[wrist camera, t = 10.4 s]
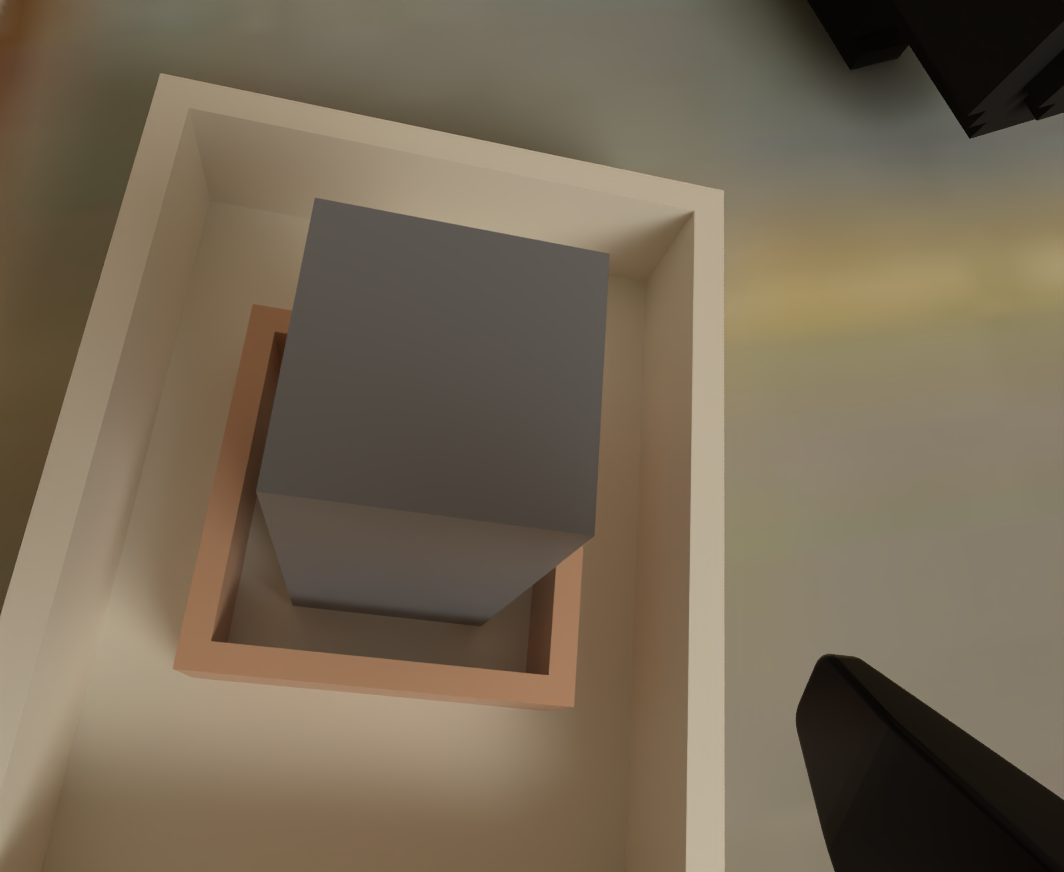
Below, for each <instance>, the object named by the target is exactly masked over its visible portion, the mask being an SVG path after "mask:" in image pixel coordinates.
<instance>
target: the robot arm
mask: <svg viewBox="0 0 1064 872" xmlns="http://www.w3.org/2000/svg"><path fill="white" fill-rule="evenodd" d="M796 728H797V733H798V737H799V741H800V745H801V749H802V753H803V757H804V761H805V765H806V768H807V772H808V776H809V780H810V784H811V788H812V792H813V796H814V800H815V804H816V808H817V812H818V816H819V820H820V824H821V828H822V832H823V835H824V839H825V842H826V846H827V849H828V853H829V856H830V859H831V862H832V865H833V868H834V871H835V872H1064V800H1063V799H1062V798H1060V797H1059V796H1057V795H1056V794H1054V793H1053V792H1052V791H1050V790H1049V789H1047V788H1046V787H1044V786H1043V785H1041V784H1040V783H1039V782H1037V781H1036V780H1034V779H1033V778H1031V777H1030V776H1028V775H1027V774H1026V773H1024V772H1023V771H1021V770H1020V769H1018V768H1017V767H1016V766H1014V765H1013V764H1011V763H1010V762H1008V761H1007V760H1005V759H1004V758H1003V757H1001V756H1000V755H998V754H997V753H995V752H994V751H992V750H991V749H990V748H988V747H987V746H985V745H984V744H982V743H981V742H979V741H978V740H977V739H975V738H974V737H972V736H971V735H969V734H968V733H967V732H965V731H964V730H962V729H961V728H959V727H958V726H956V725H955V724H954V723H952V722H951V721H949V720H948V719H946V718H945V717H943V716H942V715H941V714H939V713H938V712H936V711H935V710H933V709H932V708H931V707H929V706H928V705H926V704H925V703H923V702H922V701H920V700H919V699H918V698H916V697H915V696H913V695H912V694H910V693H909V692H907V691H906V690H905V689H903V688H902V687H900V686H899V685H897V684H896V683H894V682H893V681H892V680H890V679H889V678H887V677H886V676H884V675H883V674H882V673H880V672H879V671H877V670H876V669H874V668H873V667H871V666H870V665H869V664H867V663H866V662H864V661H863V660H861V659H859V658H857V657H853V656H844V655H835V654H826V655H823V656H822V657H820V658H819V660H818V661H817V663H816V665H815V667H814V669H813V671H812V674H811V676H810V679H809V681H808V683H807V686H806V688H805V690H804V693H803V695H802V697H801V700H800V702H799V705H798V708H797V712H796Z"/></svg>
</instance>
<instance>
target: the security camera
mask: <svg viewBox="0 0 1064 872" xmlns="http://www.w3.org/2000/svg"><path fill="white" fill-rule="evenodd" d="M807 1H808V2H809V4H810V6H811V7H812V9H813V10H814V12H815V14H816V15H817V17H818V18H819V20H820V22H821V23H822V25H823V26H824V28H825V30H826V31H827V33H828V35H829V36H830V38H831V39H832V41H833V43H834V44H835V46H836V47H837V49H838V51H839V52H840V54H841V55H842V57H843V59H844V60H845V62H846V63H847V65H848V67H849V68H850V70H852V69H856V68H860V67H864V66H868V65H872V64H876V63H880V62H884V61H888V60H892V59H896V58H898V57H899V56H900V55H901V54H902V52H903V51H904V50H905V49H906V48H907V46H908V45H909V46H910V47H911V49H912V50H913V52H914V53H915V55H916V57H917V58H918V60H919V61H920V63H921V64H922V66H923V67H924V69H925V70H926V72H927V74H928V75H929V77H930V78H931V80H932V81H933V83H934V84H935V86H936V87H937V89H938V91H939V92H940V94H941V95H942V97H943V98H944V100H945V101H946V103H947V105H948V106H949V108H950V109H951V111H952V112H953V114H954V115H955V117H956V118H957V120H958V122H959V123H960V125H961V126H962V128H963V129H964V131H965V132H966V134H967V135H968V137H969V139H970V138H974V137H977V136H980V135H984V134H987V133H990V132H994V131H997V130H1001V129H1004V128H1007V127H1011V126H1014V125H1017V124H1021V123H1024V122H1027V121H1031V120H1034V119H1036V120H1040V119H1044V118H1047V117H1050V116H1054V115H1057V114H1060V113H1064V0H807Z"/></svg>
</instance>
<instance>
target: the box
mask: <svg viewBox="0 0 1064 872" xmlns="http://www.w3.org/2000/svg"><path fill="white" fill-rule="evenodd" d="M315 198H320V199H325V200H330V201H336V202H341V203H346V204H351V205H357V206H362V207H367V208H372V209H378V210H383V211H388V212H393V213H399V214H404V215H409V216H414V217H420V218H425V219H430V220H435V221H441V222H446V223H451V224H456V225H462V226H467V227H472V228H477V229H483V230H488V231H493V232H498V233H504V234H509V235H514V236H519V237H525V238H530V239H535V240H540V241H546V242H551V243H556V244H561V245H567V246H572V247H577V248H582V249H588V250H593V251H598V252H603V253H609V254H610V257H609V276H608V295H607V313H606V332H605V351H604V369H603V388H602V407H601V426H600V444H599V463H598V482H597V500H596V519H595V536H594V537H592V538H591V539H590V540H589V541H587V542H586V543H585V544H584V545H582V546H581V547H580V548H579V549H577V550H576V551H575V552H574V553H572V554H571V555H570V556H569V557H567V558H566V559H565V560H564V561H562V562H561V563H560V564H559V565H557V566H556V567H555V568H553V569H552V570H551V571H550V572H548V573H547V574H546V575H545V576H543V577H542V578H541V579H540V580H538V581H537V582H536V583H535V584H533V585H532V586H531V587H530V588H528V589H527V590H526V591H525V592H523V593H522V594H521V595H520V596H518V597H517V598H516V599H514V600H513V601H512V602H511V603H509V604H508V605H507V606H506V607H504V608H503V609H502V610H501V611H499V612H498V613H497V614H496V615H494V616H493V617H492V618H491V619H489V620H488V621H487V622H486V623H484V624H483V625H482V626H472V625H463V624H454V623H445V622H436V621H427V620H417V619H408V618H399V617H390V616H381V615H372V614H363V613H354V612H344V611H335V610H326V609H317V608H308V607H299V606H292V603H291V599H290V596H289V593H288V590H287V587H286V584H285V581H284V578H283V574H282V571H281V568H280V565H279V562H278V559H277V556H276V553H275V549H274V546H273V543H272V540H271V537H270V534H269V531H268V528H267V524H266V521H265V518H264V515H263V512H262V509H261V506H260V503H259V499H258V496H257V493H256V489H257V484H258V479H259V474H260V469H261V464H262V459H263V454H264V449H265V444H266V439H267V434H268V429H269V424H270V419H271V414H272V409H273V404H274V399H275V394H276V389H277V384H278V379H279V374H280V369H281V364H282V359H283V354H284V349H285V344H286V339H287V334H288V329H289V324H290V319H291V314H292V309H293V304H294V299H295V294H296V289H297V284H298V279H299V274H300V269H301V264H302V259H303V254H304V249H305V244H306V239H307V234H308V229H309V224H310V219H311V214H312V209H313V204H314V199H315ZM0 872H725V857H724V191H723V190H718V189H714V188H709V187H704V186H699V185H694V184H690V183H685V182H680V181H675V180H671V179H666V178H661V177H656V176H651V175H647V174H642V173H637V172H632V171H627V170H623V169H618V168H613V167H608V166H604V165H599V164H594V163H589V162H584V161H580V160H575V159H570V158H565V157H560V156H556V155H551V154H546V153H541V152H536V151H532V150H527V149H522V148H517V147H513V146H508V145H503V144H498V143H493V142H489V141H484V140H479V139H474V138H469V137H465V136H460V135H455V134H450V133H446V132H441V131H436V130H431V129H426V128H422V127H417V126H412V125H407V124H402V123H398V122H393V121H388V120H383V119H378V118H374V117H369V116H364V115H359V114H355V113H350V112H345V111H340V110H335V109H331V108H326V107H321V106H316V105H311V104H307V103H302V102H297V101H292V100H288V99H283V98H278V97H273V96H268V95H264V94H259V93H254V92H249V91H244V90H240V89H235V88H230V87H225V86H220V85H216V84H211V83H206V82H201V81H197V80H192V79H187V78H182V77H177V76H173V75H168V74H163V73H160V76H159V79H158V83H157V86H156V90H155V93H154V96H153V100H152V103H151V107H150V110H149V113H148V117H147V120H146V124H145V127H144V130H143V134H142V137H141V141H140V144H139V147H138V151H137V154H136V157H135V161H134V164H133V168H132V171H131V174H130V178H129V181H128V185H127V188H126V191H125V195H124V198H123V202H122V205H121V208H120V212H119V215H118V218H117V222H116V225H115V229H114V232H113V235H112V239H111V242H110V246H109V249H108V252H107V256H106V259H105V263H104V266H103V269H102V273H101V276H100V279H99V283H98V286H97V290H96V293H95V296H94V300H93V303H92V307H91V310H90V313H89V317H88V320H87V324H86V327H85V330H84V334H83V337H82V341H81V344H80V347H79V351H78V354H77V357H76V361H75V364H74V368H73V371H72V374H71V378H70V381H69V385H68V388H67V391H66V395H65V398H64V402H63V405H62V408H61V412H60V415H59V418H58V422H57V425H56V429H55V432H54V435H53V439H52V442H51V446H50V449H49V452H48V456H47V459H46V463H45V466H44V469H43V473H42V476H41V479H40V483H39V486H38V490H37V493H36V496H35V500H34V503H33V507H32V510H31V513H30V517H29V520H28V524H27V527H26V530H25V534H24V537H23V541H22V544H21V547H20V551H19V554H18V557H17V561H16V564H15V568H14V571H13V574H12V578H11V581H10V585H9V588H8V591H7V595H6V598H5V602H4V605H3V608H2V612H1V615H0Z"/></svg>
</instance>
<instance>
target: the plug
mask: <svg viewBox="0 0 1064 872" xmlns="http://www.w3.org/2000/svg"><path fill="white" fill-rule="evenodd" d="M609 257H610V254H609V253H603V252H598V251H593V250H588V249H582V248H577V247H572V246H567V245H561V244H556V243H551V242H546V241H540V240H535V239H530V238H525V237H519V236H514V235H509V234H504V233H498V232H493V231H488V230H483V229H477V228H472V227H467V226H462V225H456V224H451V223H446V222H441V221H435V220H430V219H425V218H420V217H414V216H409V215H404V214H399V213H393V212H388V211H383V210H378V209H372V208H367V207H362V206H357V205H351V204H346V203H341V202H336V201H330V200H325V199H320V198H315V199H314V204H313V209H312V214H311V219H310V224H309V229H308V234H307V239H306V244H305V249H304V254H303V259H302V264H301V269H300V274H299V279H298V284H297V289H296V294H295V299H294V304H293V309H292V314H291V319H290V324H289V329H288V334H287V339H286V344H285V349H284V354H283V359H282V364H281V369H280V374H279V379H278V384H277V389H276V394H275V399H274V404H273V409H272V414H271V419H270V424H269V429H268V434H267V439H266V444H265V449H264V454H263V459H262V464H261V469H260V474H259V479H258V484H257V489H256V493H257V496H258V499H259V503H260V506H261V509H262V512H263V515H264V518H265V521H266V524H267V528H268V531H269V534H270V537H271V540H272V543H273V546H274V549H275V553H276V556H277V559H278V562H279V565H280V568H281V571H282V574H283V578H284V581H285V584H286V587H287V590H288V593H289V596H290V599H291V603H292V606H299V607H308V608H317V609H326V610H335V611H344V612H354V613H363V614H372V615H381V616H390V617H399V618H408V619H417V620H427V621H436V622H445V623H454V624H463V625H472V626H482V625H483V624H484V623H486V622H487V621H488V620H489V619H491V618H492V617H493V616H494V615H496V614H497V613H498V612H499V611H501V610H502V609H503V608H504V607H506V606H507V605H508V604H509V603H511V602H512V601H513V600H514V599H516V598H517V597H518V596H520V595H521V594H522V593H523V592H525V591H526V590H527V589H528V588H530V587H531V586H532V585H533V584H535V583H536V582H537V581H538V580H540V579H541V578H542V577H543V576H545V575H546V574H547V573H548V572H550V571H551V570H552V569H553V568H555V567H556V566H557V565H559V564H560V563H561V562H562V561H564V560H565V559H566V558H567V557H569V556H570V555H571V554H572V553H574V552H575V551H576V550H577V549H579V548H580V547H581V546H582V545H584V544H585V543H586V542H587V541H589V540H590V539H591V538H592V537H594V536H595V519H596V500H597V482H598V463H599V444H600V426H601V407H602V388H603V369H604V351H605V332H606V313H607V295H608V276H609Z"/></svg>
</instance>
